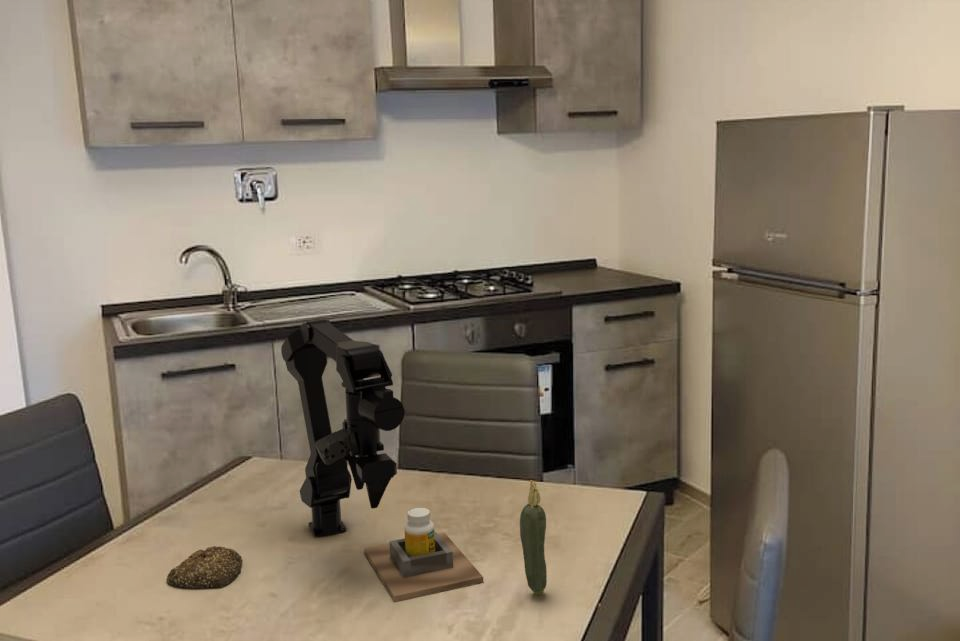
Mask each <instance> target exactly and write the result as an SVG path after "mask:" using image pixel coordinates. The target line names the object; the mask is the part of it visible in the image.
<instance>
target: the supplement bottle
mask: <svg viewBox="0 0 960 641" xmlns="http://www.w3.org/2000/svg"><path fill="white" fill-rule="evenodd" d="M435 532H436V531H435V524H434V522H433V521H431V511H430V509H428V508H425V507H416V508H415V507H414V508H412V509H409V510H408V511H407V522H406V523H405V525H404V538H405V550H406V555H407V556H408V558H409V557H414V556H419V555H423V554H428V553H433V552H435Z"/></svg>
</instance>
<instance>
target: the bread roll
mask: <svg viewBox="0 0 960 641" xmlns="http://www.w3.org/2000/svg"><path fill="white" fill-rule="evenodd" d="M242 557H243V556H241V555H240V553H238V551H236V550H234V549H233V548H228V547H225V546H217V545H213V546H212V547H211V546H210V547H207V548H206V549H199V550H195V552H193V553H191V554H190V555H189V556H188V557H187V558H185V559H184V560H183V561H182V562H181V563H179V564H178V565H177V566H175V567H173V568H172V569H171V570H170V571H169V573H168V574H167V576H166V582H167V584H168V585H171V586H175V587H179V588H186V589H187V588H188V589H219V588H222V587H223V588H224V587H226V586H227V585H229V584H230V583H232V582H234V581H235V580H236V578H237V577H238V575H240V574H241V572H242V567H243V561H244V560H243V558H242ZM239 573H240V574H239Z"/></svg>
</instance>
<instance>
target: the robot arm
mask: <svg viewBox="0 0 960 641" xmlns="http://www.w3.org/2000/svg"><path fill="white" fill-rule="evenodd" d="M280 349H281V350H280V351H281V357H282V359H283V361H284V363H285V365H286V366H285V367H286V370H287V371H288V372H289V374H290V375H291V376H292V377H293V378H294V380H296V381H297V384H298V390H299V396H300V400H301V406H302V408H301V409H302V412H303V413H302V414H303V417H304V423H305V430H306V434H307V435H306V436H307V441H308V445H309V450H310V451H309V452H310V454H309V455H310V456H309V458H308V460H307V463H306V465H305V469H304V470H305V471H304V472H305V479H304V481H303V483H302V485H301V487H300V489H299V495H300V499H301V502H302V503H303V504H304V505H306V506H308V508H310V509H311V522H308V524H307V526H308V528H309V530H310V531H311V533H312V535H313V537H315V538H318V537H321V536H328V535H332V534H333V535H334V534H338V533H345V532H346V531H347V527H346V525H345V524H344V522H343V520H342V509H341V500H344V499H349V498H350V496H351V495H350V494H351V489H352V487H351V486H352V480H353V482H354V485H355V488H356V490H357V491H361V490H363V489H364V486H365V487H366V492H367V497H368V501H369V505H370V508H371V509H377V508H378V507H379V505H380V503H381V500H382V498H383V496H384V494H385V491H386V490H387V487H388V485H389V484H390V481H391V479H392V478H394V476H396V475H397V474H398V467H397V462H396V461H395V460H394V459H393V458H392V457H391V456H390V455H388V454H387V453H386V452H385V453H378V452H381V451H384V450H385V449H384V448H385V446H384V443H383V442H381V431H385V432H391V431H392V430H396V429H397V428H399V426H400V425H401V424H402V422H403V420H404V418H405V407H404V405H403V403H402V402H401V401H400V400H399V399H398V398H396V397H394V391H393V390H392V389H390V388H386V387H391V386H392V387H393V385H394V382H393V379H392V377H393V374H392V373H393V372H392V371H391V369H390V367H389V365H388V363H387V360H386V358H385V356H384V353H383V351H382V350H381V349H380V348H379V346H378V345H376V344H374V343H371V342H368V341H362V340H361V341H359V340H354V339H352V337H349V335H347V334H345V333H343V332H342V331H341V330H339V328H337V327H335V326H334V325H332V322H331V321H330V319H326V318H321V319H320V318H319V319H313V320H312V319H311V320H306V321H305V322H303V323H302V324H301V325H300V327H299V328H298V329H296V330H295V331H293V332H292V333H289V335H287V336H286V338H285V339H284V341H283V343H282V344H281V348H280ZM328 357H329V358H331V359H332V360H333V361H334V362H335V366H336V367H335V369H336V372H337V373H338V374H339V377H340V378H341V380H342V382H341V387H343V388H345V407H346V408H345V410H346V418H345V419H343V421H342V428H341V429H339V430H337V431H333V432H332V430H333V429H332V427H331V420H330V414H329V408H328V403H327V397H326V393H325V387H324V383H323V382H324V381H323V375H324V373H325V371H326V367H327V365H328ZM379 376H380V377H379ZM348 466H349V468H348ZM349 469H350V470H349Z"/></svg>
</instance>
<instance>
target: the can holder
mask: <svg viewBox="0 0 960 641" xmlns="http://www.w3.org/2000/svg"><path fill="white" fill-rule="evenodd" d="M434 532H435V552H433V553H428V554H423V555H419V556H414V557H409V558H408V556H407V555H406V550H405V537H404V538H400V539H393V540H390V541H389V542H388V543H384V544H380V545H379V544H378V545H374V546H368V547H365V548H363V551H364V552H363V553H364V555H365V556H366V558H367V560H368V561H369V563H370V565H371V566H372V568H373V569H374V571H375V573H376V574H377V576H378V577H379V579H380V581H381V583H382V584H383V586H384V587H385V589H386V590H387V592H388V594H389V595H390V597H391V599H392V600H393V601H394V603H395V602H399V601H400V602H401V601H404V600H409V599H414V598H418V597H422V596H427V595H432V594H437V593H441V592H446V591H450V590H455V589H459V588H463V587H467V586H472V585H478V584H483V583H484V576H483V575H482V574H481V573H480V571H479V570H478V569H477V568H476V567H475V565H474V564H473V563H472V562H471V560H469V559H468V557H466V555H465V554H464V553H463V552H462V551H461V550H460V549H459V547H458V546H457V545H456V544H455V543H454V541H453V540H452V539H450V537H449V536H448V534H446V532H439V533H438V532H436V531H434Z"/></svg>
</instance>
